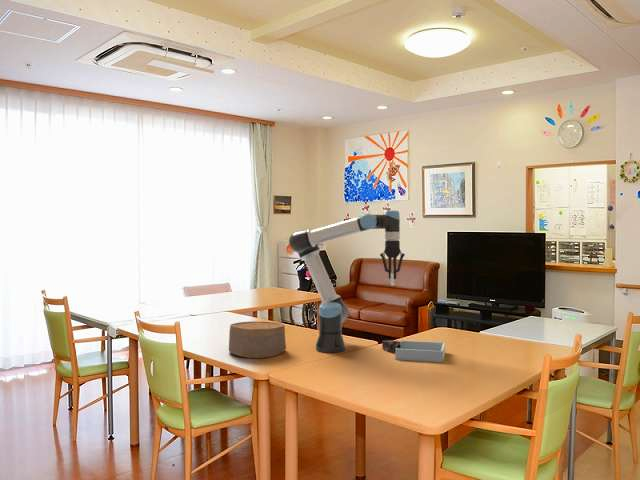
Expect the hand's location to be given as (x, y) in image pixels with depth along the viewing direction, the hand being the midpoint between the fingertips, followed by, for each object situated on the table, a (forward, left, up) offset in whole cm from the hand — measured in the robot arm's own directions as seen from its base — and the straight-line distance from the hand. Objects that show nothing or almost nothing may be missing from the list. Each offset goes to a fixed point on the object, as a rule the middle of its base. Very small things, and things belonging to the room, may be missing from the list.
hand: (392, 285), depth 283 cm
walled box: (+16, -16, -32) cm, 40 cm away
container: (-64, -30, -33) cm, 78 cm away
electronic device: (-1, -12, -28) cm, 30 cm away
